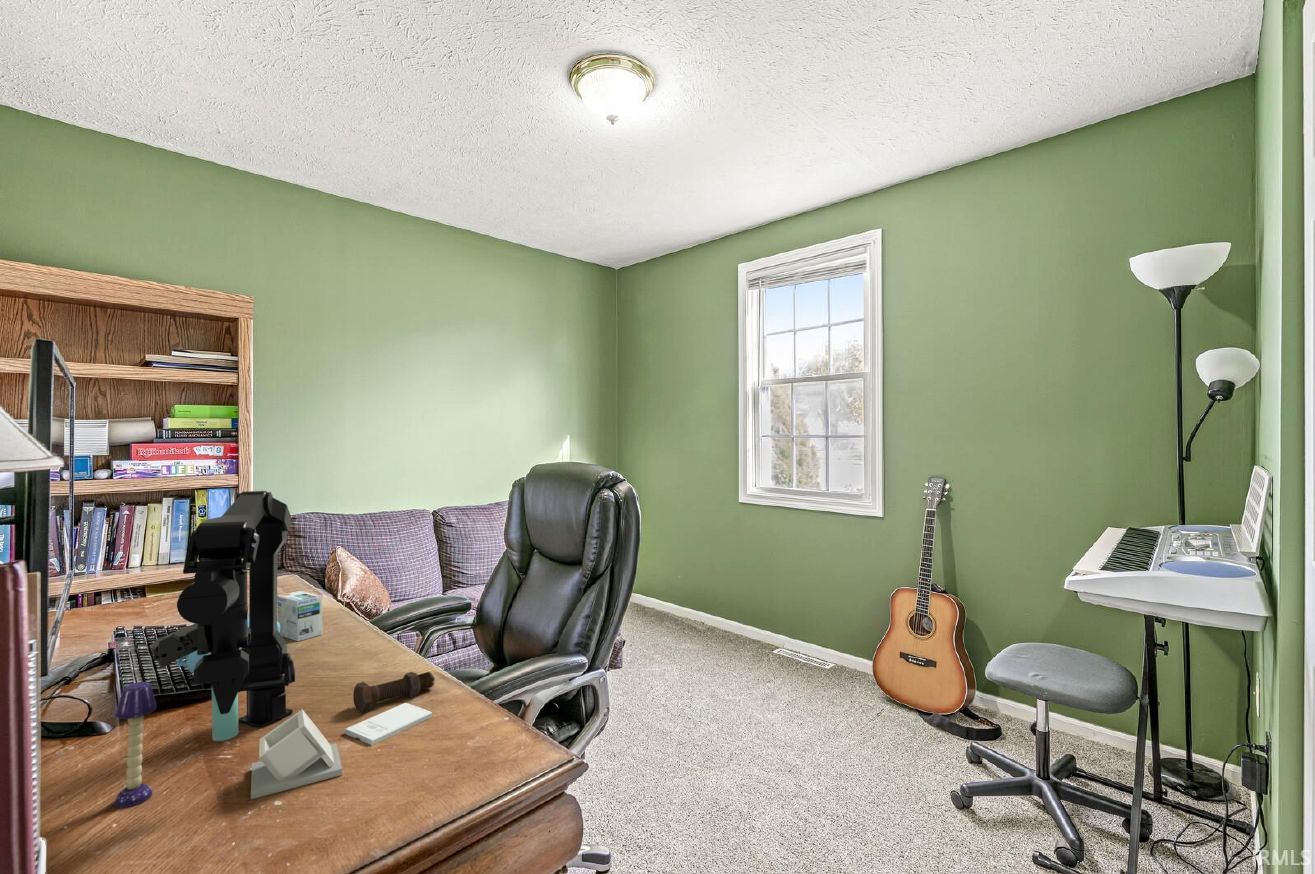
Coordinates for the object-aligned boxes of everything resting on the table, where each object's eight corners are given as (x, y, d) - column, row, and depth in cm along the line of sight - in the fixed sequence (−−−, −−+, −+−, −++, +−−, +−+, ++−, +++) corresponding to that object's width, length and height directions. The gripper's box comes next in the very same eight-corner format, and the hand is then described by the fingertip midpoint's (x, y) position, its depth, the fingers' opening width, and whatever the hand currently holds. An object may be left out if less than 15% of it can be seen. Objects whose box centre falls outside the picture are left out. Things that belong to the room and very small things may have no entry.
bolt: (433, 697, 130) (358, 719, 119) (423, 680, 133) (350, 699, 122) (440, 677, 128) (365, 697, 117) (430, 660, 131) (357, 678, 120)
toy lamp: (132, 789, 93) (131, 679, 93) (165, 787, 94) (164, 678, 94) (106, 808, 88) (105, 692, 88) (141, 806, 89) (140, 691, 89)
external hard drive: (432, 720, 117) (371, 748, 106) (404, 710, 121) (344, 736, 111) (432, 711, 117) (372, 739, 106) (404, 701, 121) (344, 727, 111)
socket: (336, 748, 105) (336, 698, 105) (342, 774, 97) (341, 720, 97) (252, 769, 99) (251, 716, 99) (250, 799, 91) (250, 741, 91)
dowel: (207, 738, 92) (206, 678, 92) (229, 728, 95) (228, 670, 95) (221, 742, 91) (220, 681, 91) (243, 732, 94) (242, 673, 94)
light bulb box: (323, 635, 165) (323, 594, 165) (297, 642, 160) (297, 600, 160) (301, 628, 171) (301, 589, 171) (276, 635, 165) (275, 594, 165)
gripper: (165, 598, 96) (165, 699, 96) (145, 630, 80) (146, 750, 80) (250, 589, 102) (251, 683, 102) (247, 616, 86) (248, 728, 86)
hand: (225, 708), depth 93 cm, fingers closed on dowel, 3 cm apart
